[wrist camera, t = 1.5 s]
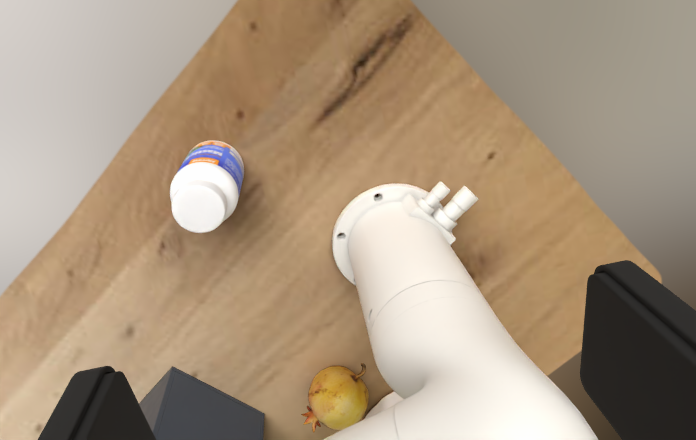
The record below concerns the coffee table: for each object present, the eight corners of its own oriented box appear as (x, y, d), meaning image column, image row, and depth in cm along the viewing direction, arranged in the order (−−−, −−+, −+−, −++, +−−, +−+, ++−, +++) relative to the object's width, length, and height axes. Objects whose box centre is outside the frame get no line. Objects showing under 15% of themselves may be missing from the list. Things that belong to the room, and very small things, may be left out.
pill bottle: (226, 129, 43) (210, 163, 35) (255, 179, 46) (248, 222, 37) (173, 155, 44) (146, 195, 35) (205, 202, 46) (186, 251, 37)
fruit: (347, 369, 50) (281, 425, 52) (392, 411, 51) (326, 464, 53) (349, 337, 56) (291, 387, 58) (389, 375, 57) (331, 423, 60)
